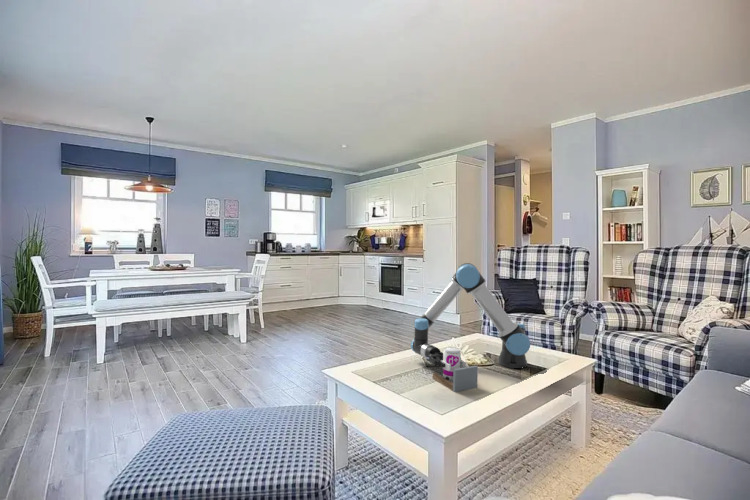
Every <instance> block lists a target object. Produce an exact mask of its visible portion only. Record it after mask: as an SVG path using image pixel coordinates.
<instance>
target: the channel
mask: <svg viewBox="0 0 750 500" xmlns="http://www.w3.org/2000/svg"><path fill="white" fill-rule="evenodd" d="M432 379H433V380H434V381H436V382H438V383H440V384H441V385H442V386H444V387H446V388H448V389H449V390H451V391H453V382H450V381H448V380H446V379H444V378H443V376H440V375H439V374H438V373H435V372H433V373H432ZM453 392H454V391H453Z"/></svg>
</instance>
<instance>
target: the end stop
mask: <svg viewBox="0 0 750 500" xmlns="http://www.w3.org/2000/svg"><path fill="white" fill-rule="evenodd" d="M478 369H479V368H478V366H477V365H472V366H466V367H464V368H463V367H460V368H458V369H453V382H452V383H453V393H456V392H461V391H467V390H468V391H469V390H472V389H476V388H478V376H479V375H478V374H479V371H478Z"/></svg>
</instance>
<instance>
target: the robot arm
mask: <svg viewBox="0 0 750 500" xmlns="http://www.w3.org/2000/svg"><path fill="white" fill-rule="evenodd" d="M463 290H464V291H465V293H466V294H467V295H469V294H470V295H471V296H472V297H473V298H474V299H475V301H476V302H477V303H478V305H479V306H480V308H481V309H482V311H483V312H484V313H485V315H486V316H487V317H488V318H489V320H490V321H491V323H492V324H493V325H494V327H495V328H496V329H497V331H498V337H499V338H500V340H501V350H500V354H499V356H498V358H497V360H498V361H497V363H498V364H499V365H500V366H502V367H504V368H509V369H514V368H522V367H525V366H527V367H528V360H527V359H526V355H525V354H527V353H528V351H530V348H531V341H530V338H529V337H528V336H527V334H526V325H525V324H523V323H518V322H517V323H516V322H513V320H512V319H511V318H510V316H509V315H508V314H507V312H506V311H505V310H504V308H503V307H502V306H501V305H500V302H498V300H497V299H496V297H495V296H494V295H493V293H491V291H490V290H489V288H488V287H487V286H486V279H485V278H484V277H483V275H482V274H481V272H480V271H479V269H478V268H477V267H476V266H475V265H474V264H473V263H470V262H465V263H463V264H461V265H459V266H458V268H457V270H456V271H455V272H454V274H453V276H452V277H451V281H450V282H449V283H448V284H447V286H446V287H445V288H444V289H443V290H442V291H441V293H440V294H439V295H438V297H437V298H436V299H435V300H434V301H433V302H432V304H431V305H430V306H429V308H427V310H426V311H425V312H424V313H423V314H422V315H421V316H420V317H418V318H415V320H414V337H413V338H414V339H412V341H411V342H410V348H411V350H412V351H413V352H414V353H415V354H417V355H419V356H421V357H423V358H425V360H426V361H428V362H429V363H430V364H431V365H433V366H434V367H437V366H438V368H439V369H440V368H441V367H442V369H443V368H445V369H447V370H449V371H451V365H450V364H448V363H446V362H444V361H443V352H441V350H440V348H439V347H436V346H434V345H432V344H430V343H428V342H429V330H430V328H431V326H432V325H433V324H434V323H435V322H436V321H437V320H438V318H439V317H440V316H441V314H442V313H444V312H445V310H446V309H447V308H448V307H449V306H450V305H451V303H452V302H453V301H454V300H455V299H456V297H457V296H458V295H459V294H460V293H461V292H462V291H463ZM464 367H467V362H466V361H464V360H462V359H461V360H460V368H464ZM522 369H523V368H522Z"/></svg>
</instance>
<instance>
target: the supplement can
mask: <svg viewBox="0 0 750 500" xmlns="http://www.w3.org/2000/svg"><path fill="white" fill-rule="evenodd" d="M442 353H443V360H442V361H444V362H446V363H448V364H450V365H451V371H449V370H447V369H445V368H443V367H442V377H443V378H444V379H446V380H448V381H450V382H451V383H453V369H458V368H461V366H460V360H462V357H461V356H462V353H461V350H460V348H457V347H454V346H453V347H452V346H448V347H445V348H444V350H443V352H442Z"/></svg>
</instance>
